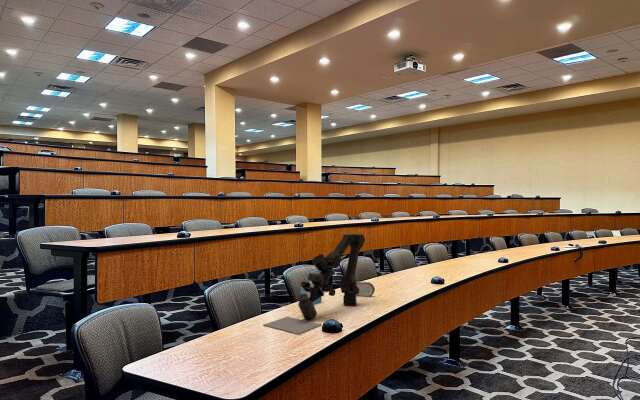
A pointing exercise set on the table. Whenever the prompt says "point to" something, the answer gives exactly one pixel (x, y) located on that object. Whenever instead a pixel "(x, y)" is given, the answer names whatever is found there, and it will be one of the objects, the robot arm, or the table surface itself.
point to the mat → (292, 325)
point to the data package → (309, 295)
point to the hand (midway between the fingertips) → (310, 302)
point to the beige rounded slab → (365, 289)
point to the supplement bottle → (307, 307)
